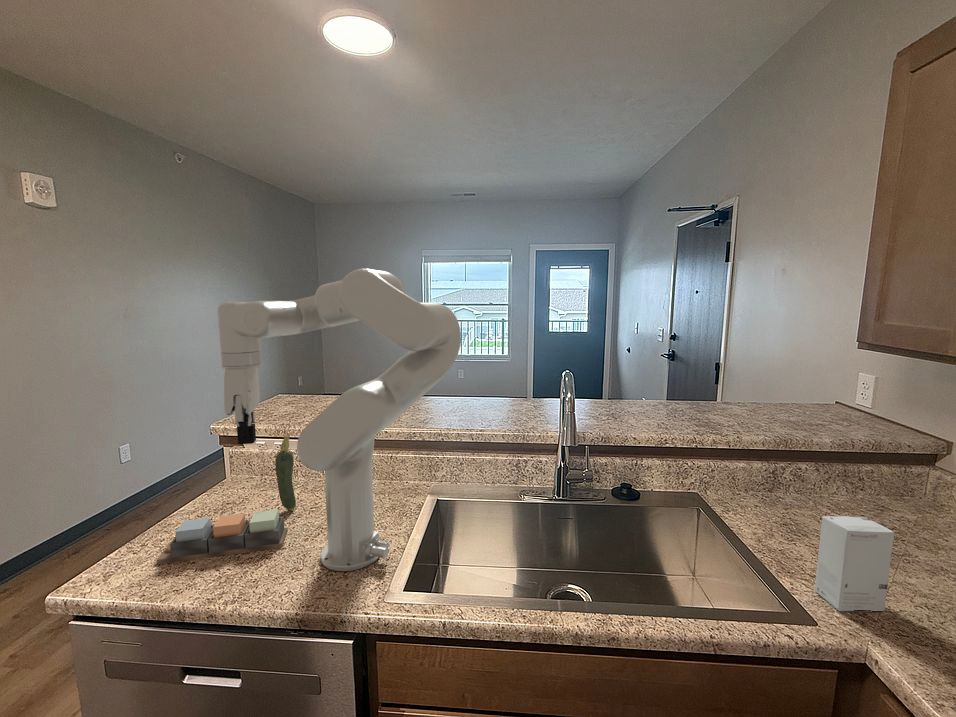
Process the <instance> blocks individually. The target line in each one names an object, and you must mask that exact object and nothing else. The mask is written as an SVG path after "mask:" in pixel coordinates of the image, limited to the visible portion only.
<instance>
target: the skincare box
mask: <svg viewBox="0 0 956 717" xmlns="http://www.w3.org/2000/svg"><path fill="white" fill-rule="evenodd" d="M894 537H895V532H894V530H891V529H889V528H887V527H885V526H883V525H881V524H880V523H877V522H876V521H874V520H872V519H870V518H868V517H859V516H847V515H845V516H844V515H840V516H836V515H835V516H832V515H831V516H830V515H829V516H828V515H826V516H825V515H822V517H821V528H820V536H819V545H818V546H819V547H818V554H817V555H818V556H817V564H816V575H815V582H814V583H815V584H814V591H815V593H817V594H818V595H819V596H821V597H822V598H823V599H824V600H825V601H826V602H827V603H828V604H829V605H830V604H831V606H832V607H833V608H834V609H835V608H836V609H835V610H836V611H837V610H838V611H837V612H855V611H854V610H876V611H884V610H885V609H886V603H887V602H886V601H887V594H888V587H889V586H888V584H889V579H890V578H889V577H890V568H891V562H892V553H893V546H894ZM884 612H885V611H884Z"/></svg>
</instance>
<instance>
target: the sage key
mask: <svg viewBox="0 0 956 717" xmlns="http://www.w3.org/2000/svg"><path fill="white" fill-rule="evenodd" d="M279 517H280V512H279V509H271V510H264V511H261V510H260V511H254V513H253V515H252V517H251V518H250V519H249V520H250V522H249V526H250V533H255V532H263V531H271V530H276V529H277V527H278V524H279Z"/></svg>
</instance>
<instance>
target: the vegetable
mask: <svg viewBox="0 0 956 717" xmlns="http://www.w3.org/2000/svg"><path fill="white" fill-rule="evenodd" d="M289 440H290V435H288V434H285V436H284V438H283V440H282V442H281V444H280V451H278V453H277V455H276V457H275V464H274V465H275V475H276V482H277V488H278V494H279V495H278V496H279V499H280V502H281V504H282V507H283V508H284V509H286V510H288V511H294V510H295V508H297V501H296V495H295V489H294V485H293V472H294V471H293V470H294V460H295V459H294V453H293V452H292V451H290V450H289V448H290V441H289Z"/></svg>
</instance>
